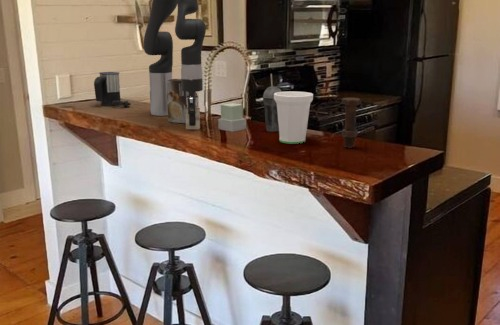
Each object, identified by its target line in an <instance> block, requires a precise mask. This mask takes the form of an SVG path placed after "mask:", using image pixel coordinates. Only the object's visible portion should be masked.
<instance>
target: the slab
mask: <svg viewBox="0 0 500 325" xmlns="http://www.w3.org/2000/svg"><path fill="white" fill-rule="evenodd" d="M246 129H247V118H244V117H243V119H238V120H233V121H231V120H225V119H221V117H220V118H218V130H221V131H226V132H232V133H233V132H237V131H238V132H239V131H242V130H243V131H244V130H246Z"/></svg>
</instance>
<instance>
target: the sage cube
mask: <svg viewBox="0 0 500 325" xmlns="http://www.w3.org/2000/svg"><path fill="white" fill-rule="evenodd" d="M243 107H244V106H243V104H239V103H233V102H231V103H225V104H220V118H221V119H225V120H231V121H233V120H238V119H243V118H244V116H243V115H244V112H243V110H244V109H243Z"/></svg>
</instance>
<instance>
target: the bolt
mask: <svg viewBox="0 0 500 325" xmlns="http://www.w3.org/2000/svg"><path fill="white" fill-rule="evenodd" d="M340 103H341V104H342V105H344V106H345V107H344V109H345V115H344V116H345V117H344V118H345V119H344V120H345V121H344V128H343V129H342V130H341V134H340V135H341V137H343V147H344V148H346V147H348V148H347V149H353V148H354V147H355V139H356V137H357V136H358V135H359V131H358V130H357V129H356V115H357V108H358V106H359V105H361V104H362V100H361V99H360V98H359V97H343V98H342V99H341V102H340ZM352 147H353V148H352Z"/></svg>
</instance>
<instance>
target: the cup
mask: <svg viewBox="0 0 500 325" xmlns="http://www.w3.org/2000/svg"><path fill="white" fill-rule="evenodd" d="M274 100H275V102H276V103H277V113H278V124H279V131H278V134H279V135H278V136H279V138H278V139H279V142H280V143H283V144H288V145H298V144H299V143H300V144H303V142H304V143H306V135H307V129H308V123H309V122H308V121H309V116H310V107H311V103H312V102H313V100H314V93H312V92H307V91H291V90H290V91H282V92H277V93H275V94H274Z"/></svg>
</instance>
